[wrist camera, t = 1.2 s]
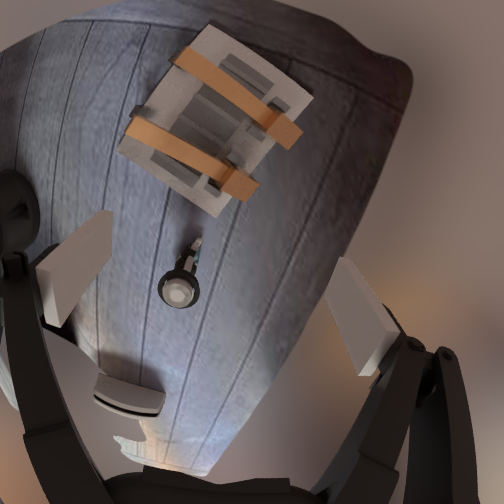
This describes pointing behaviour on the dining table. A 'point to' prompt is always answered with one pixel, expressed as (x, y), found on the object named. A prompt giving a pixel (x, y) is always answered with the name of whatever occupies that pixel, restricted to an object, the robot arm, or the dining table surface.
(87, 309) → the dining table surface
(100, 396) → the pale grey rounded block
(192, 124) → the heatsink base
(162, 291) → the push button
